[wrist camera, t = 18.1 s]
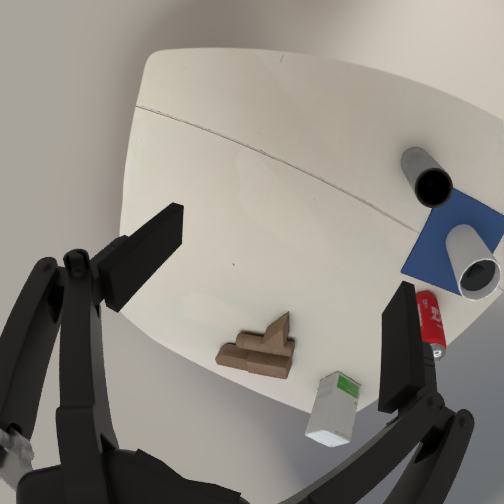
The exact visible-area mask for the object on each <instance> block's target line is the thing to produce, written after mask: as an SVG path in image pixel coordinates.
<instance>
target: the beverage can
mask: <svg viewBox="0 0 504 504" xmlns="http://www.w3.org/2000/svg"><path fill="white" fill-rule="evenodd" d="M416 299H417V305H418V312H419V319H420V326H421V334H422V340H423V341H427V342H429V343H430V345H431V347H432V349H433V352H434V361H435V362H437V361H439V360H440V359H441V358H442V357H443V356H444V355H445V350H446V341H445V335H444V330H443V325H442V320H441V315H440V310H439V306H438V301H437V299H436V297H435V296H434V295H433V294H432V293H430V292H426V291H424V292H420V293H418V294H416Z"/></svg>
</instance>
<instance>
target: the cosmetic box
mask: <svg viewBox="0 0 504 504" xmlns="http://www.w3.org/2000/svg"><path fill="white" fill-rule="evenodd" d="M359 393H360V385H359V384H357V383H356V382H354V381H353V380H351V379H349V378H348V377H346V376H345V375H343V374H342V373H340V372H338V371H337V372H336V373H334V374H332V375H330V376H328V377H326V378H324V379H322V380H321V381H320V384H319V388H318V392H317V395H316V399H315V402H314V406H313V409H312V413H311V416H310V420H309V423H308V426H307V429H306V432H305V435H306V436H308V437H310V438H312V439H314V440H316V441H317V442H319V443H322V444H325V445H327V446H329V447H334V446H338V445H342V444H346V443H349V442H350V439H351V434H352V430H353V425H354V420H355V415H356V410H357V404H358V398H359Z"/></svg>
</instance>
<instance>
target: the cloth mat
mask: <svg viewBox="0 0 504 504" xmlns="http://www.w3.org/2000/svg"><path fill="white" fill-rule="evenodd" d="M462 224H465V225H470V226H471V227H472V228H474V229H475V231H476V232H477V233H478V235H479V236H480V238H481V239H482V240H483V242H484V243H485V245H486V246H487V247H488V249H489V250H490V252H491V253H492V254H493V252H494V250H495V249H496V247H497V245H498V244H499V242H500V240H501V238H502V236H503V234H504V216H503V215H502V214H500V213H498V212H497V211H495V210H493V209H491V208H490V207H488V206H486V205H484V204H483V203H481V202H479V201H477V200H475V199H473V198H472V197H470V196H468V195H466V194H464V193H462V192H460V191H458V190H456V189H454V188H453V191H452V195H451V197H450V199H449V200H448V202H447V203H446V204H444V205H443V206H441V207H438V208H433V209H432V211H431V213H430V215H429V218H428V220H427V222H426V224H425V226H424V228H423V230H422V232H421V234H420V236H419V238H418V240H417V242H416V244H415V246H414V248H413V249H412V251H411V253H410V255H409V257H408V259H407V261H406V262H405V264H404V266H403V268H402V270H401V273H403V274H406V275H408V276H411V277H414V278H416V279H419V280H422V281H424V282H427V283H429V284H432V285H435V286H437V287H440V288H442V289H445V290H447V291H450V292H453V293H455V294H458V295H460V296H462V295H461V293H460V291H459V288H458V285H457V281H456V278H455V274H454V271H453V267H452V264H451V261H450V258H449V255H448V252H447V249H446V238H447V235H448V234H449V232H450V231H451V230H452V229H453V228H454V227H456V226H458V225H462Z"/></svg>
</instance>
